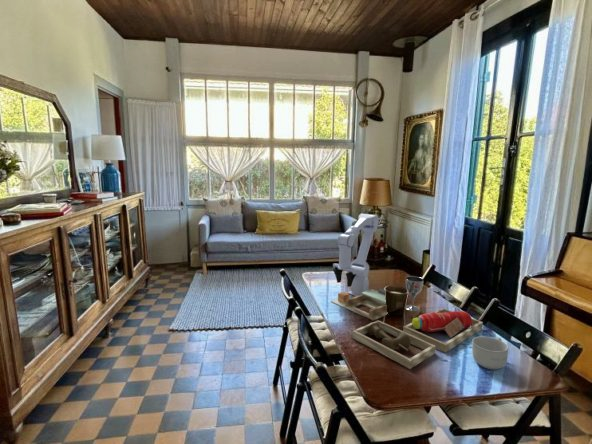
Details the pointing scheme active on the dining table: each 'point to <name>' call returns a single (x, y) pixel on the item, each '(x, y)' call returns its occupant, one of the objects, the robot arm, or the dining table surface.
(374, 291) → the slide cover
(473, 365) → the dining table surface
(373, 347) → the frame
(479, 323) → the bottle frame
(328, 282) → the dining table surface
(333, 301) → the mat
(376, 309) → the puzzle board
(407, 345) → the kendama
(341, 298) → the wooden block
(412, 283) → the wine glass
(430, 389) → the dining table surface
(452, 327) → the water bottle
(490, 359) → the teacup
